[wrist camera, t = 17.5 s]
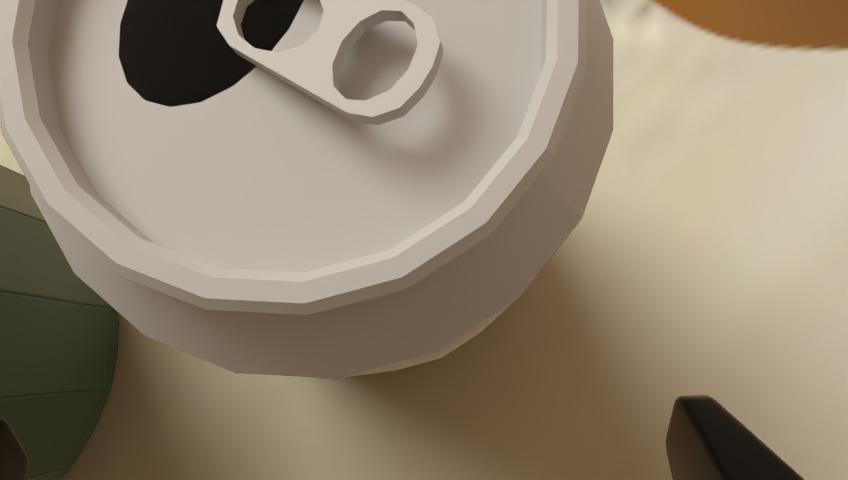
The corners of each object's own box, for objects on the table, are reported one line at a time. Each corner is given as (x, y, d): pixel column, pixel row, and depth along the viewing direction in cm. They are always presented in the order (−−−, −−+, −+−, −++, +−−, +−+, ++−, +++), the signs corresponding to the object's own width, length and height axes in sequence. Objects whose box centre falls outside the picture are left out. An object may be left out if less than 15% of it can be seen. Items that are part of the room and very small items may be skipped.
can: (341, 61, 19) (178, -410, 8) (571, 183, 18) (789, -134, 7) (200, 282, 18) (-245, 136, 7) (436, 423, 17) (414, 550, 6)
